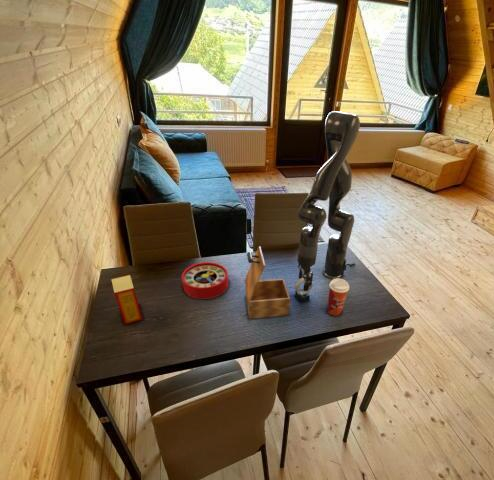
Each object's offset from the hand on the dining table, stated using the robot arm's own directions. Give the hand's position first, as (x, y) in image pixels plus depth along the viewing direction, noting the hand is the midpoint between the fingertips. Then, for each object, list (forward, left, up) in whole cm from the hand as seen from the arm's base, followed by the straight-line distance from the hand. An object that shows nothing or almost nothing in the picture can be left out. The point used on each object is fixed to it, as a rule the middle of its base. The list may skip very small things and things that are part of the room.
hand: (303, 284), depth 136 cm
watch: (0, 0, -8) cm, 8 cm away
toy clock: (+42, -15, -8) cm, 45 cm away
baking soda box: (+71, +1, -8) cm, 71 cm away
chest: (+16, +3, -8) cm, 18 cm away
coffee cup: (-12, +10, -8) cm, 18 cm away
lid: (+21, +3, +9) cm, 24 cm away
